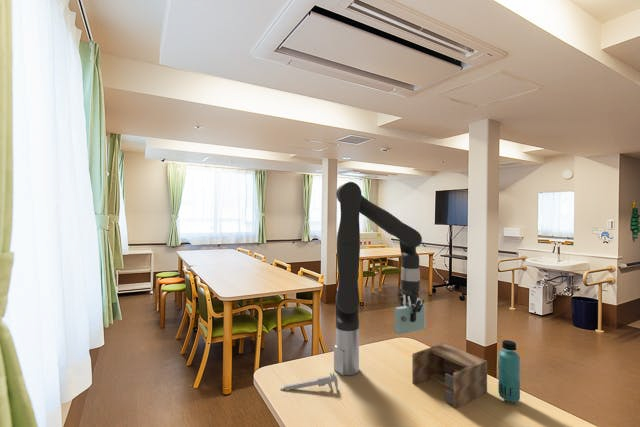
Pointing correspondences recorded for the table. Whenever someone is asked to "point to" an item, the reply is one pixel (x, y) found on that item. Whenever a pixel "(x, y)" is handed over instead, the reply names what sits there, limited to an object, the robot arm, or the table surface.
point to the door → (408, 320)
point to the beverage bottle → (509, 372)
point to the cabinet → (451, 372)
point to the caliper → (315, 383)
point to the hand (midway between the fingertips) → (410, 320)
